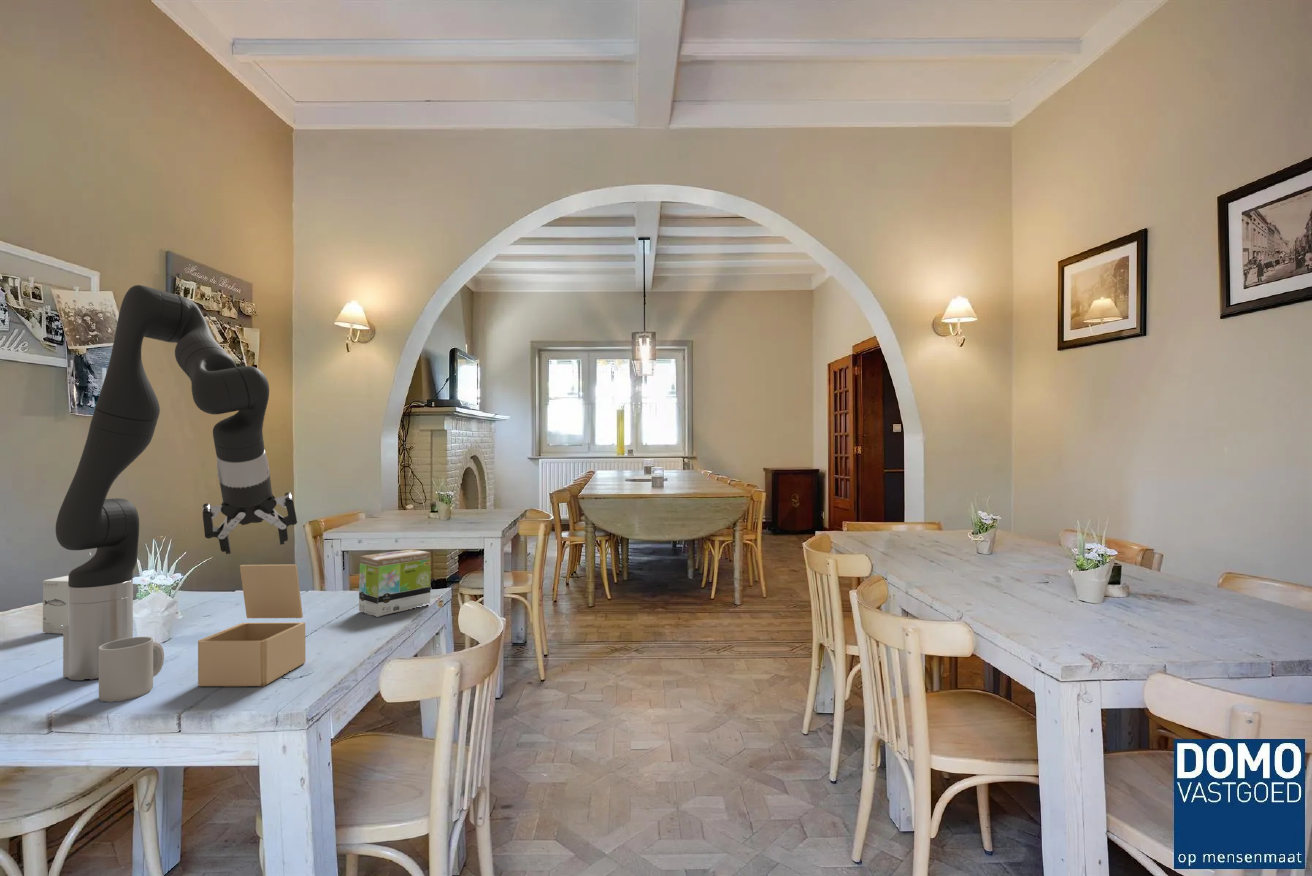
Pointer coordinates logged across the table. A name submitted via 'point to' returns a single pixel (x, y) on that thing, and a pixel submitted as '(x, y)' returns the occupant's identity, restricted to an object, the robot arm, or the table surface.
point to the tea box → (394, 581)
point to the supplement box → (55, 605)
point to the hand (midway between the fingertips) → (255, 546)
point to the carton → (250, 654)
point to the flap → (271, 591)
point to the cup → (128, 668)
